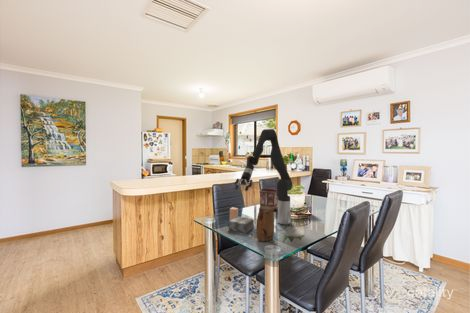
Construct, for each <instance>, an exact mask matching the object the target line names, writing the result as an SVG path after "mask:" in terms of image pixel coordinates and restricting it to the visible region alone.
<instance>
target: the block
mask: <svg viewBox="0 0 470 313" xmlns="http://www.w3.org/2000/svg"><path fill="white" fill-rule="evenodd" d="M258 209H259V210H258V214H257V217H256V228H255V229H256V234H255V235H256V238H257V240H258V241H259V242H268V241H271V240H273V239H274V237H275V236H274V234H275V213H274V212H275V210H274V209H273V208H271V207H269V206H262V207H261V206H260V207H259V208H258Z"/></svg>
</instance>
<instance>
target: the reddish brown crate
mask: <svg viewBox="0 0 470 313" xmlns="http://www.w3.org/2000/svg"><path fill="white" fill-rule="evenodd" d="M259 198H260V199H259V205H260V207H262V206H269V207H271V208H273V209H274V211H275V210H278V207H277V205H278V197H277V188H276V189H275V188H261V189H259Z"/></svg>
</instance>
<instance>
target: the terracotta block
mask: <svg viewBox="0 0 470 313" xmlns="http://www.w3.org/2000/svg"><path fill="white" fill-rule="evenodd" d="M237 216H239V208H238V207H233V206H232V207H230V208H229V221H230V220H232V219H234V218H236V217H237Z"/></svg>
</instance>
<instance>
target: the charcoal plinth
mask: <svg viewBox="0 0 470 313" xmlns="http://www.w3.org/2000/svg"><path fill="white" fill-rule="evenodd" d="M254 227H255V220H254V219H253V218H251V217H250V218H249V217H243V216H239V215H238V216H237V217H236V218H234V219H232V220H230V219H229V222H228V230H229V231H234V232H240V233H243V234H247V233H249V231H251V230H252V229H254Z"/></svg>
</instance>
